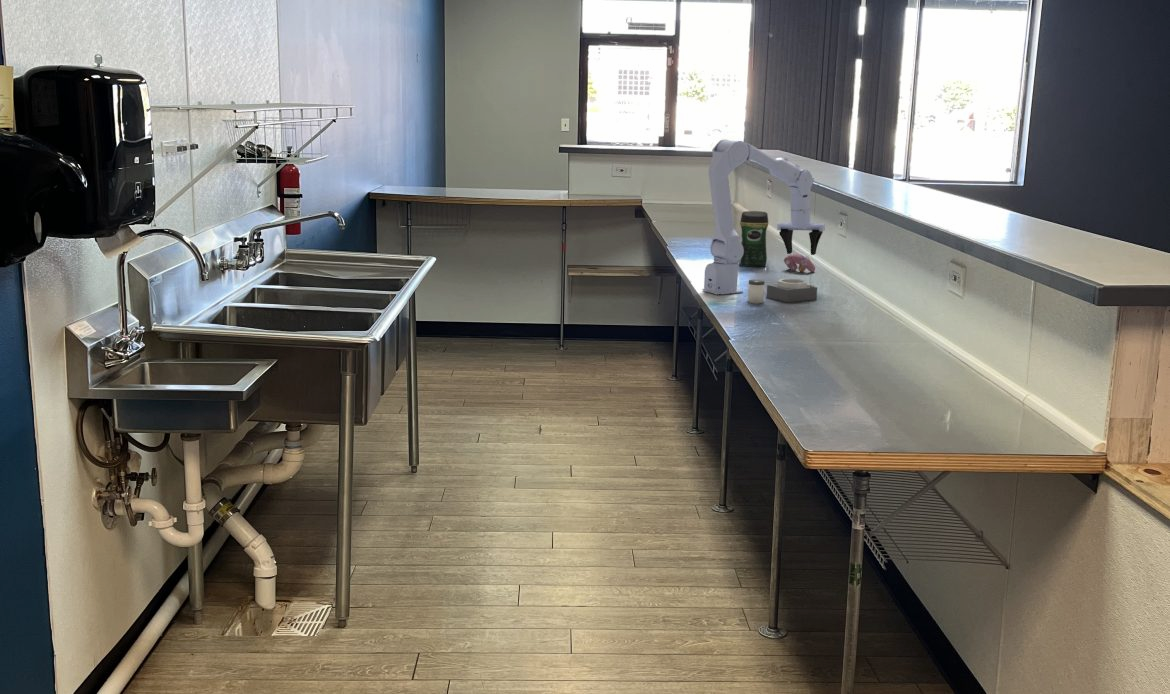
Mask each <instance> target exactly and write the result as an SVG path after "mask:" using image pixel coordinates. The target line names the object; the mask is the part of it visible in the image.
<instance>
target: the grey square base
mask: <svg viewBox="0 0 1170 694" xmlns="http://www.w3.org/2000/svg"><path fill="white" fill-rule="evenodd" d="M817 297H818V287H817V286H815V284H810V285H809V284H808V281H807V280H805V279H800V278H779V279H777V283H776V284H775V283H774V284H767V285H766V298H769V299H773V300H777V301H780V302H783V303H792V302H793V303H795V302H804V301H814V300H817V299H818V298H817Z"/></svg>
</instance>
